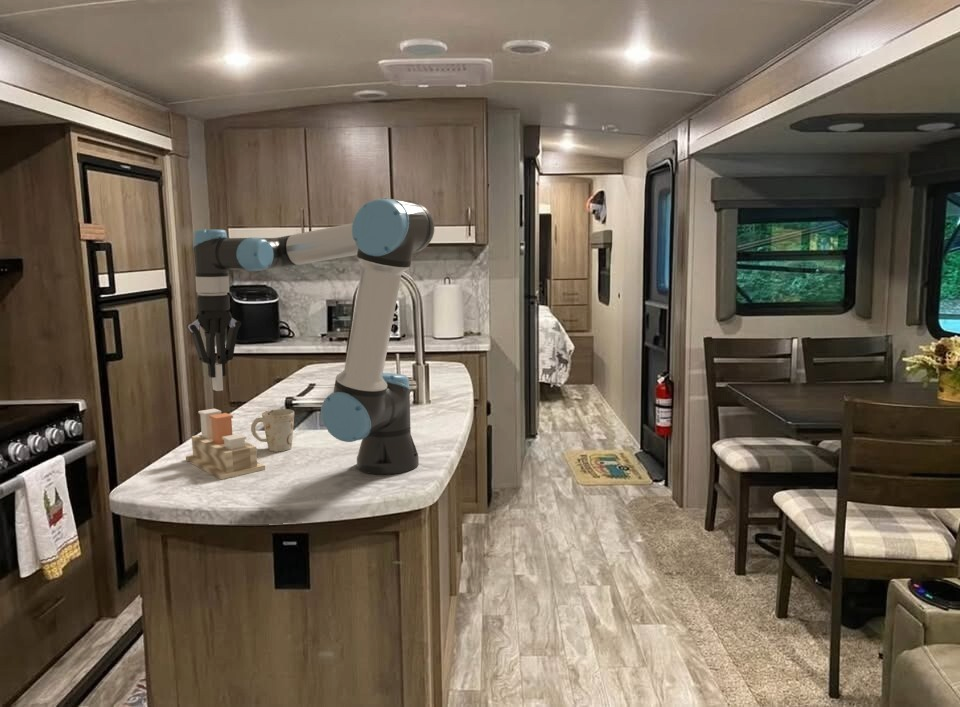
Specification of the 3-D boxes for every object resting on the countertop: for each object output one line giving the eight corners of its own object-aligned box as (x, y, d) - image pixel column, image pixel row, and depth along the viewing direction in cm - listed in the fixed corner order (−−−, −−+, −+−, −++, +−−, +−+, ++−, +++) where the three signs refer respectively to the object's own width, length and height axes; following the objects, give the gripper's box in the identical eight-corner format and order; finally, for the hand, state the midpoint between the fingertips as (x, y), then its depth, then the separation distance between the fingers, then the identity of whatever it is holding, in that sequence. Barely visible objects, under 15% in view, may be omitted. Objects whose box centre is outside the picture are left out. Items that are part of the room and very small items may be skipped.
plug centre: (234, 444, 185) (232, 415, 184) (218, 447, 182) (216, 418, 181) (227, 441, 188) (225, 412, 187) (211, 444, 186) (209, 415, 184)
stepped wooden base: (264, 469, 182) (263, 445, 181) (221, 479, 174) (219, 454, 174) (227, 451, 198) (225, 429, 197) (185, 460, 191) (184, 437, 190)
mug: (287, 453, 195) (285, 416, 194) (243, 451, 198) (241, 415, 196) (301, 445, 203) (299, 409, 202) (259, 443, 206) (256, 408, 204)
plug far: (223, 439, 190) (221, 411, 189) (207, 442, 188) (204, 413, 187) (216, 436, 194) (214, 408, 192) (200, 439, 191) (198, 411, 190)
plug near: (248, 466, 181) (246, 436, 180) (231, 470, 178) (229, 440, 177) (240, 462, 184) (238, 433, 183) (224, 466, 181) (222, 436, 180)
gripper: (231, 291, 186) (236, 384, 190) (179, 294, 178) (185, 391, 181) (245, 293, 181) (249, 388, 185) (192, 296, 172) (198, 396, 176)
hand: (217, 389), depth 183 cm, fingers closed
